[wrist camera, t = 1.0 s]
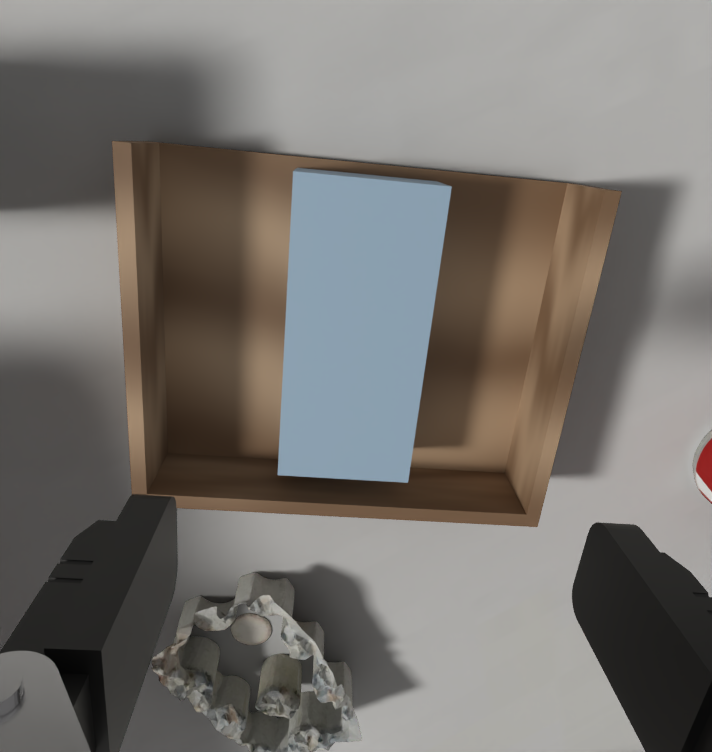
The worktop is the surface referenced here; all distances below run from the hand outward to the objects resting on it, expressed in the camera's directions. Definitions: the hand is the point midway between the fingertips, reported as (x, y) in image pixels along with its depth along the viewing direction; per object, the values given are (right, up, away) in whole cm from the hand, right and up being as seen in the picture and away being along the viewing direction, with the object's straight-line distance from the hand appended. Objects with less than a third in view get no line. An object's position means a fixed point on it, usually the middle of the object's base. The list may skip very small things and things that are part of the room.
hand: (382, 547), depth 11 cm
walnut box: (-1, +5, +15) cm, 16 cm away
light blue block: (-1, +6, +14) cm, 15 cm away
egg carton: (-5, -12, +22) cm, 25 cm away
